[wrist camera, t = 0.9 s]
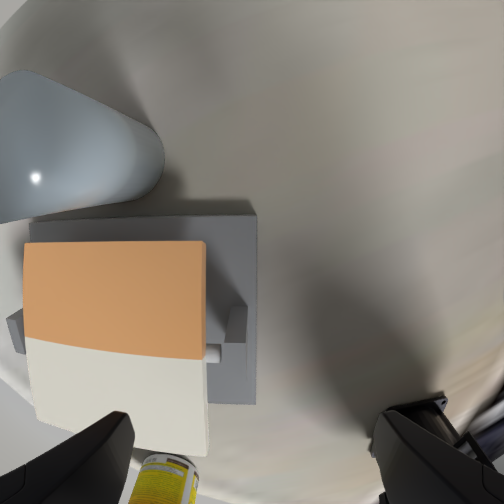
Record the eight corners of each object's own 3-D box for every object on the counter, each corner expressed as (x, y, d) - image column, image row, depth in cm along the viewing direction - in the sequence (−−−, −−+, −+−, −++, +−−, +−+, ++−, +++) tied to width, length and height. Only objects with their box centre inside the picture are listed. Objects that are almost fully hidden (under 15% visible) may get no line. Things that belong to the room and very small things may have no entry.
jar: (165, 118, 17) (64, 50, 6) (164, 199, 18) (53, 219, 7) (95, 128, 17) (-30, 94, 6) (94, 203, 18) (-36, 227, 7)
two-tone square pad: (221, 246, 16) (217, 240, 14) (224, 440, 15) (220, 457, 13) (36, 246, 16) (17, 243, 14) (46, 408, 15) (29, 416, 13)
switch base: (256, 214, 18) (256, 226, 12) (255, 396, 20) (255, 450, 15) (37, 221, 18) (-14, 234, 13) (67, 375, 21) (35, 411, 15)
